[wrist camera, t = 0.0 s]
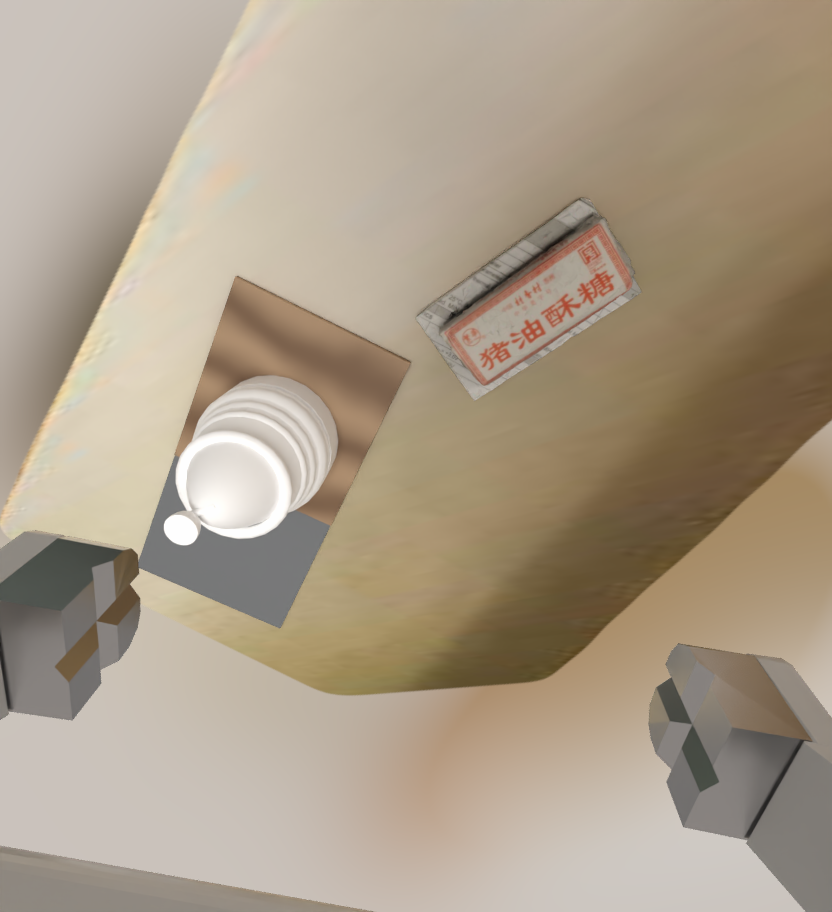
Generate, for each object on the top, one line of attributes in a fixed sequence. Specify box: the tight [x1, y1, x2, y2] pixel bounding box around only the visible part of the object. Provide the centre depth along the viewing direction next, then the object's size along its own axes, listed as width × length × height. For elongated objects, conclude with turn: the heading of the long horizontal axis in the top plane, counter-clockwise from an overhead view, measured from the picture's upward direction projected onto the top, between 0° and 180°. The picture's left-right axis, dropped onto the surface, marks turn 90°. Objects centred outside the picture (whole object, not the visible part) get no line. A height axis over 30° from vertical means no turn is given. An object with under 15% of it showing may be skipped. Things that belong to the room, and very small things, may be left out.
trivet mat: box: [138, 455, 330, 628], centre depth 65 cm, size 16×18×1 cm
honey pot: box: [164, 375, 338, 545], centre depth 51 cm, size 13×13×18 cm
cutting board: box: [174, 276, 411, 526], centre depth 58 cm, size 20×18×1 cm
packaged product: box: [416, 198, 642, 401], centre depth 51 cm, size 18×5×10 cm
